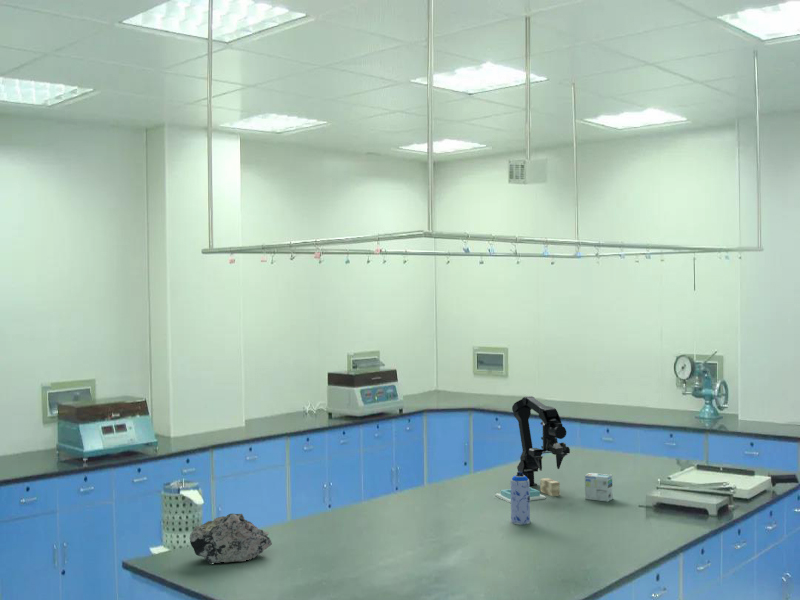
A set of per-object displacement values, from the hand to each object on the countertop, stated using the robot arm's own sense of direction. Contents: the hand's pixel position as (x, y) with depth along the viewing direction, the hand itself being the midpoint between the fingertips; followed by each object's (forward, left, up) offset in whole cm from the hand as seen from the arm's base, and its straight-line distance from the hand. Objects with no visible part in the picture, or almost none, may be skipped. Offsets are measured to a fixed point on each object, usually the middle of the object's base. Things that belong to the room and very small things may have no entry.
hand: (549, 469), depth 380 cm
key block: (0, 0, -11) cm, 11 cm away
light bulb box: (+18, +14, -11) cm, 25 cm away
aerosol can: (+37, -36, -11) cm, 53 cm away
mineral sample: (+36, -151, -11) cm, 156 cm away
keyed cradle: (+1, -16, -11) cm, 19 cm away
